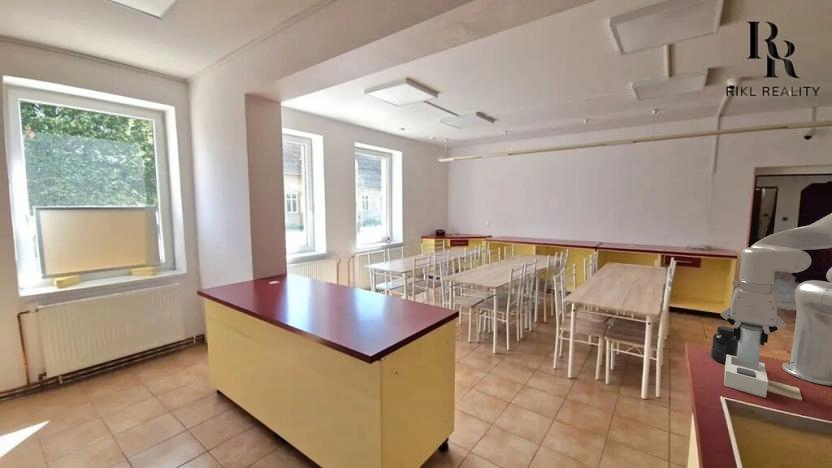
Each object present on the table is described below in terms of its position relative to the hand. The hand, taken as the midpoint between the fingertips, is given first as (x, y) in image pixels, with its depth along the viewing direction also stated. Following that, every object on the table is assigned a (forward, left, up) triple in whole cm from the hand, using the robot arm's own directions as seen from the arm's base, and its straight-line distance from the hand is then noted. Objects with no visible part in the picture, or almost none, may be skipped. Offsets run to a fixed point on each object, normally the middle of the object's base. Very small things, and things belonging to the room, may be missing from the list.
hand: (749, 341), depth 105 cm
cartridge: (0, 0, -7) cm, 7 cm away
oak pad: (+2, +8, -13) cm, 15 cm away
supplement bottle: (-10, -5, -13) cm, 17 cm away
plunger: (+8, 0, -11) cm, 13 cm away
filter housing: (+3, 0, -13) cm, 13 cm away
